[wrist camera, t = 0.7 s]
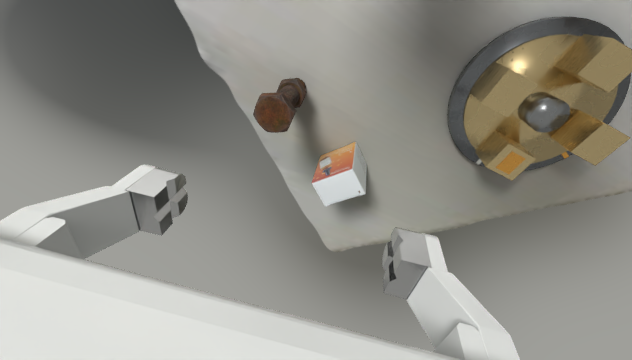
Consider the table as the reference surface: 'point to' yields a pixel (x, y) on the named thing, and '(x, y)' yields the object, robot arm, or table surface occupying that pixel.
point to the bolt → (280, 105)
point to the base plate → (502, 46)
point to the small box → (340, 175)
